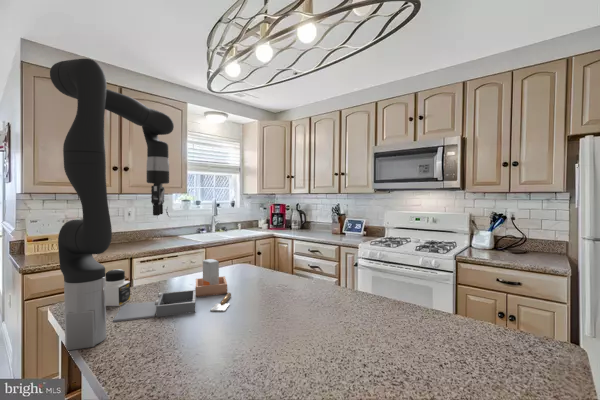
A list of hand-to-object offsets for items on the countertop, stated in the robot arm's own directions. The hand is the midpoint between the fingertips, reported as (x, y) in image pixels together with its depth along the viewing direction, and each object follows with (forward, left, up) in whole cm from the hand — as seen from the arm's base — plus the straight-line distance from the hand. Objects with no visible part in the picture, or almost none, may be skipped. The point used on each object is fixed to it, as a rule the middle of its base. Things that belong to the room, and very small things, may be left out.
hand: (158, 214), depth 112 cm
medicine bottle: (+6, +15, -33) cm, 37 cm away
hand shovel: (-8, -22, -33) cm, 40 cm away
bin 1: (-6, 0, -33) cm, 33 cm away
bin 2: (+9, -19, -33) cm, 39 cm away
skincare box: (+9, -19, -32) cm, 38 cm away
